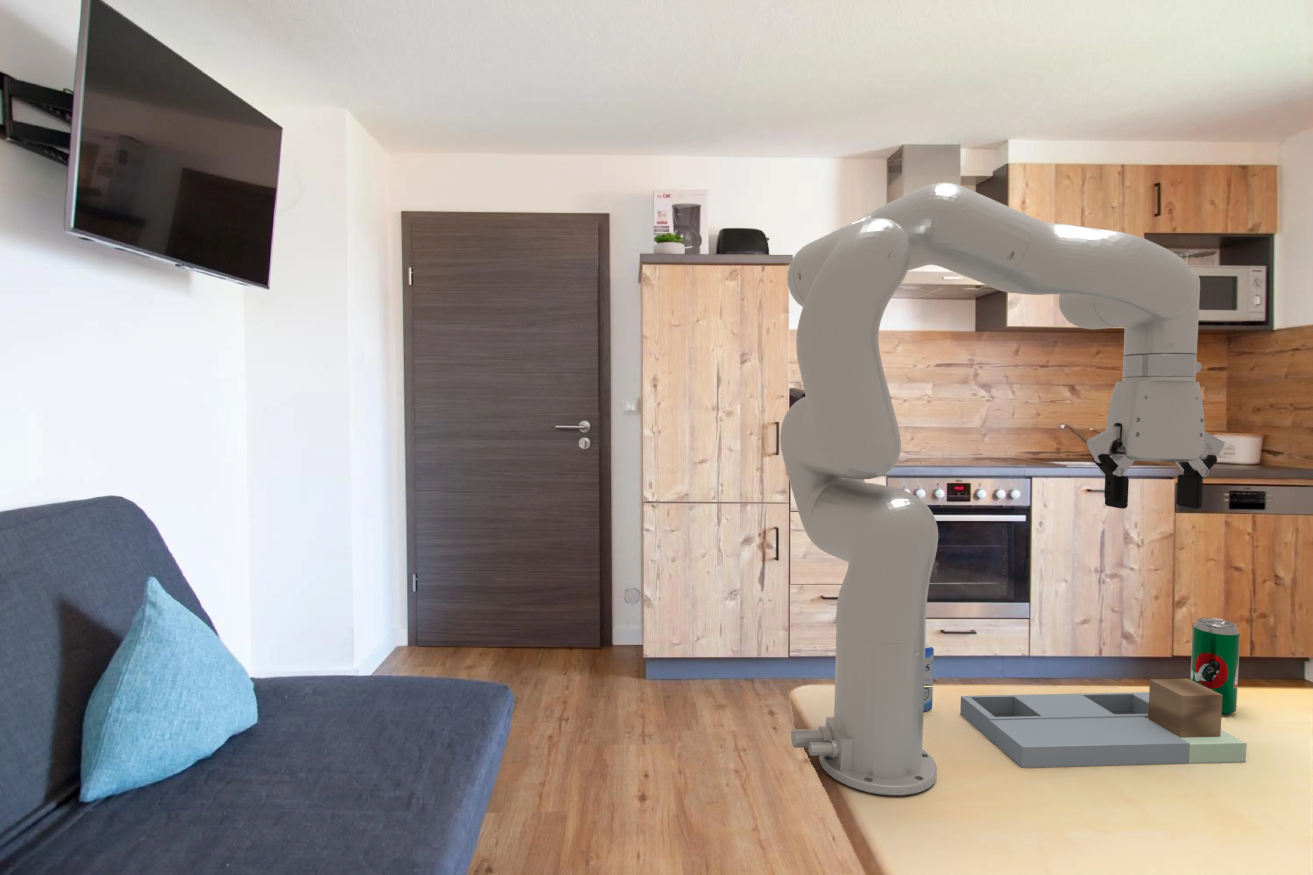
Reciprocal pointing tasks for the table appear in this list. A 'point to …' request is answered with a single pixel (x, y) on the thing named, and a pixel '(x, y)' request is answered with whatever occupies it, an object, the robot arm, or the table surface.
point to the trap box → (1089, 731)
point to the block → (1185, 708)
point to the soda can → (1216, 659)
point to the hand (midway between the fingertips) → (1152, 507)
